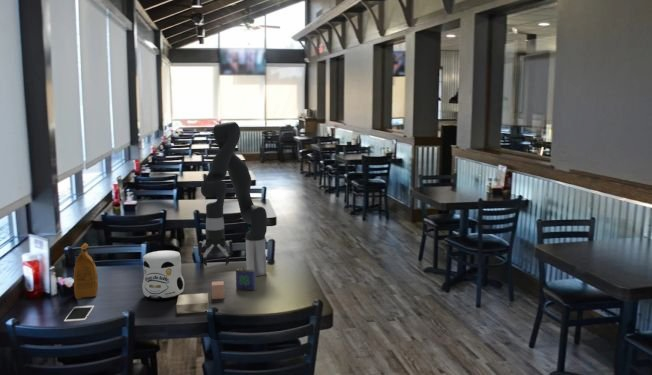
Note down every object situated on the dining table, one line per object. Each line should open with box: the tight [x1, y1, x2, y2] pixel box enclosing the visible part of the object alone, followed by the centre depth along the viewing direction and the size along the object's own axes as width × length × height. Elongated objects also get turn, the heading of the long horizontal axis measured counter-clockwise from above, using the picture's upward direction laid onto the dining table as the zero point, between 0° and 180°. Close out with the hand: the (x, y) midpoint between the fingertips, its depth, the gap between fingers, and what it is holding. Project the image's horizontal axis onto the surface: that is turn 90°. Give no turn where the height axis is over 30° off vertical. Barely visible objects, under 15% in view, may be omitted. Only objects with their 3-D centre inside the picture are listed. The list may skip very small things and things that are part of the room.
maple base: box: [176, 292, 209, 315], centre depth 235 cm, size 12×12×4 cm
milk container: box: [141, 250, 185, 300], centre depth 249 cm, size 17×17×18 cm
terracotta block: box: [211, 280, 225, 300], centre depth 248 cm, size 5×5×6 cm
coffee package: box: [73, 242, 99, 300], centre depth 250 cm, size 10×12×22 cm
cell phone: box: [63, 305, 95, 323], centre depth 230 cm, size 8×16×1 cm, turn 9°
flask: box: [235, 265, 257, 292], centre depth 256 cm, size 9×3×11 cm, turn 74°
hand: (216, 265), depth 246 cm, fingers open, 8 cm apart
